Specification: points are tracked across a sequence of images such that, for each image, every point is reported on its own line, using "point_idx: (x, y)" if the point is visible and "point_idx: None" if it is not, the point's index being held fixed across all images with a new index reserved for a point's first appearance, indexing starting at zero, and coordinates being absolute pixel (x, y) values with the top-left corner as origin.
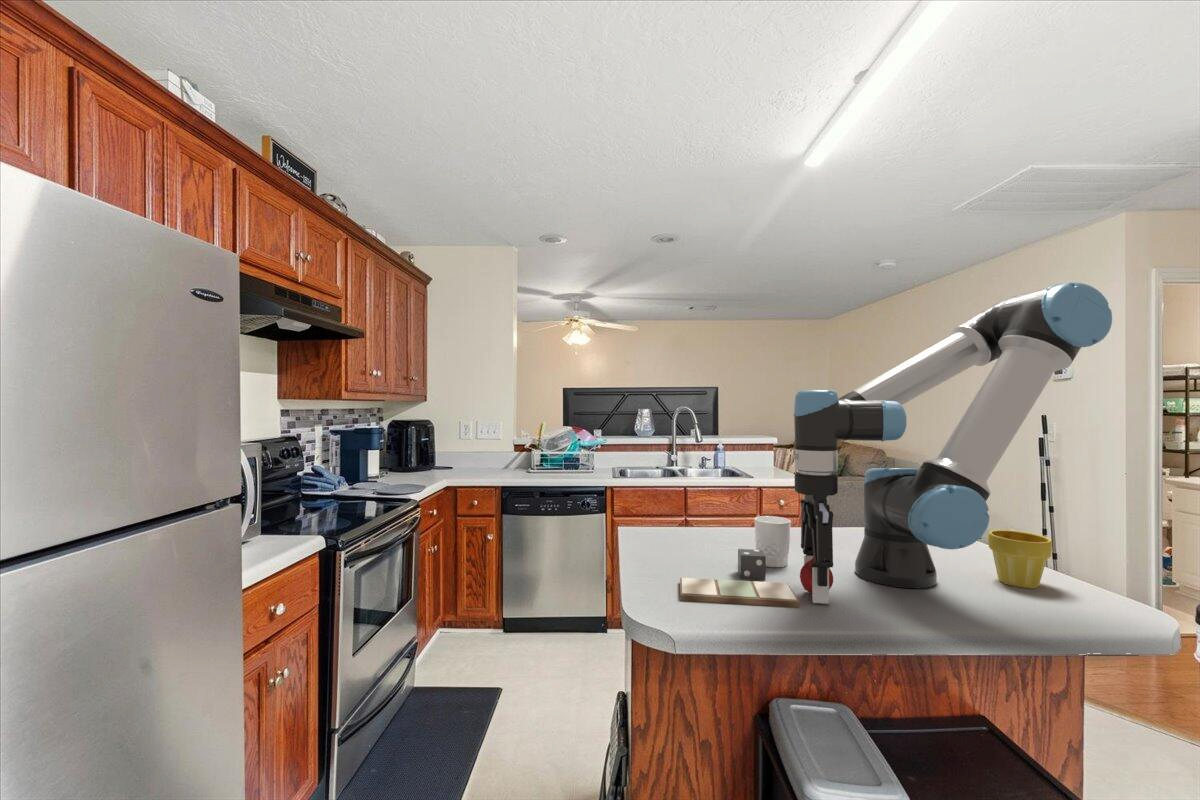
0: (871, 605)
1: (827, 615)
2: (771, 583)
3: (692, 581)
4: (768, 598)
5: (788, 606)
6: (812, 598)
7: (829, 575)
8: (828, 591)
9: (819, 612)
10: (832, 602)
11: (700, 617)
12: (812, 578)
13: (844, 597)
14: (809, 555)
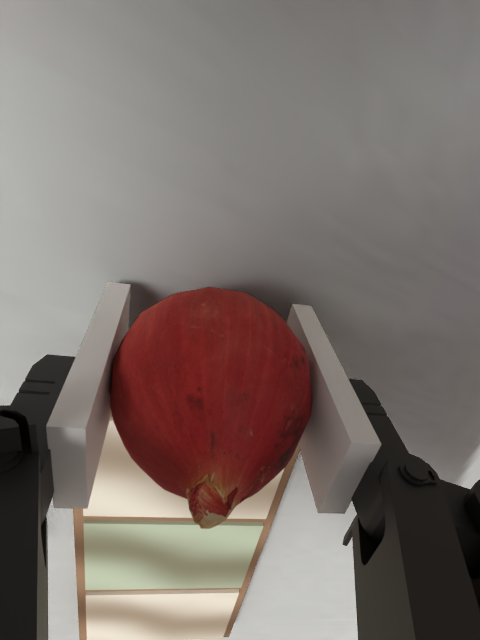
0: (325, 46)
1: (397, 341)
2: (101, 469)
3: (121, 628)
4: (271, 499)
5: None
6: None
7: (298, 366)
8: (326, 341)
9: (363, 358)
10: (260, 263)
11: (336, 595)
12: (301, 443)
13: (183, 161)
14: (52, 482)
